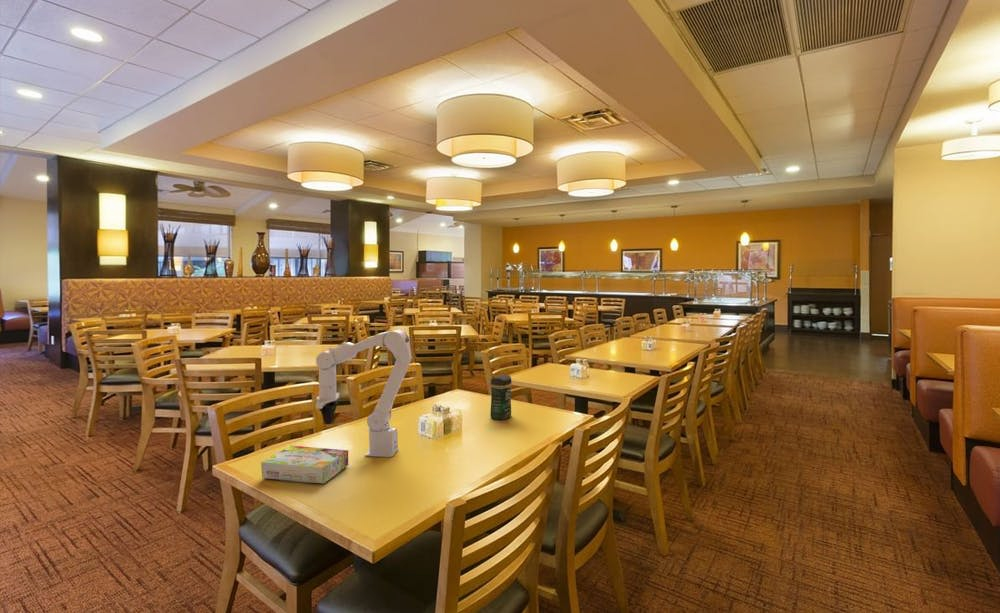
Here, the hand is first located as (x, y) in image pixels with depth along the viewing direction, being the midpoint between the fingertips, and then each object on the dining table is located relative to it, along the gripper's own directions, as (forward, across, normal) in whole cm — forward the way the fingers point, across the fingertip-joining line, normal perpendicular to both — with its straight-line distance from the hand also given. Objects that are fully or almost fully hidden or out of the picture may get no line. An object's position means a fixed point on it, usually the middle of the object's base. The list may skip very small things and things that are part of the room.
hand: (328, 423), depth 170 cm
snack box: (+7, +10, +1) cm, 12 cm away
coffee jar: (+10, -48, +57) cm, 75 cm away
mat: (+10, +18, +3) cm, 21 cm away
